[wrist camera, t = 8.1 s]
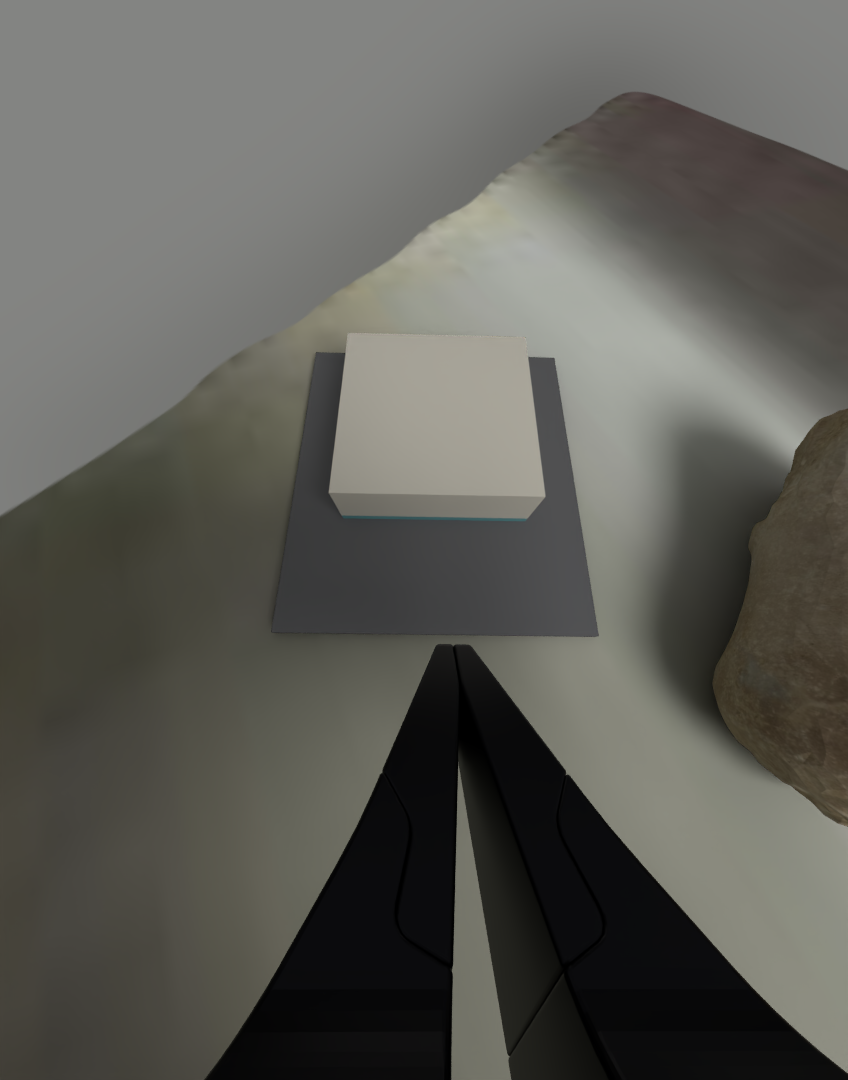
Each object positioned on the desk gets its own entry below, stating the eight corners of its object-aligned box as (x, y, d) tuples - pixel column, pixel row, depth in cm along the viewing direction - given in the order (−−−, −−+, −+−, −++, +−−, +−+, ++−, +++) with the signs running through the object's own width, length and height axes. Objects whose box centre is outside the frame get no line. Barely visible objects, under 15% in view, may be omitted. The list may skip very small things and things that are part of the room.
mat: (593, 636, 16) (598, 636, 16) (275, 632, 16) (271, 632, 15) (551, 364, 22) (554, 357, 22) (318, 358, 22) (316, 352, 21)
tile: (545, 496, 15) (525, 336, 18) (328, 492, 15) (348, 332, 18) (524, 521, 18) (511, 379, 21) (343, 518, 17) (357, 376, 21)
